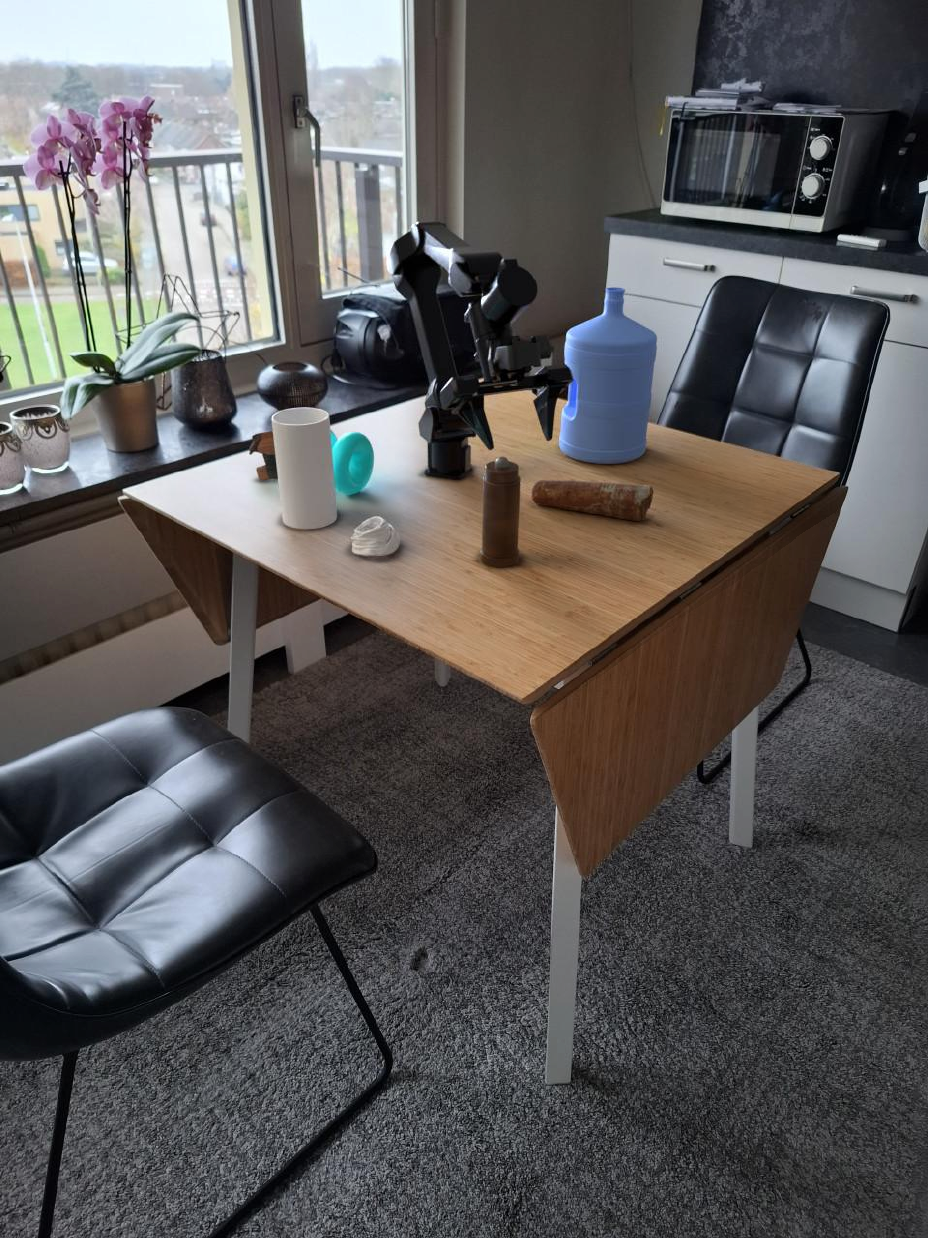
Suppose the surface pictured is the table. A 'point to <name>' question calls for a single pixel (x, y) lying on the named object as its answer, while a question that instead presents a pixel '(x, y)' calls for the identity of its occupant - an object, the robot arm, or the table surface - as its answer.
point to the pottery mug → (265, 455)
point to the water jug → (608, 386)
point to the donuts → (351, 462)
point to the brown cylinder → (595, 497)
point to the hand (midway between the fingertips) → (521, 444)
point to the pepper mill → (500, 513)
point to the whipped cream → (374, 538)
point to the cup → (305, 467)
